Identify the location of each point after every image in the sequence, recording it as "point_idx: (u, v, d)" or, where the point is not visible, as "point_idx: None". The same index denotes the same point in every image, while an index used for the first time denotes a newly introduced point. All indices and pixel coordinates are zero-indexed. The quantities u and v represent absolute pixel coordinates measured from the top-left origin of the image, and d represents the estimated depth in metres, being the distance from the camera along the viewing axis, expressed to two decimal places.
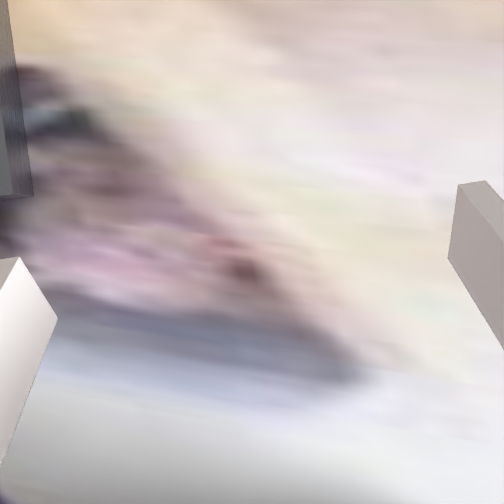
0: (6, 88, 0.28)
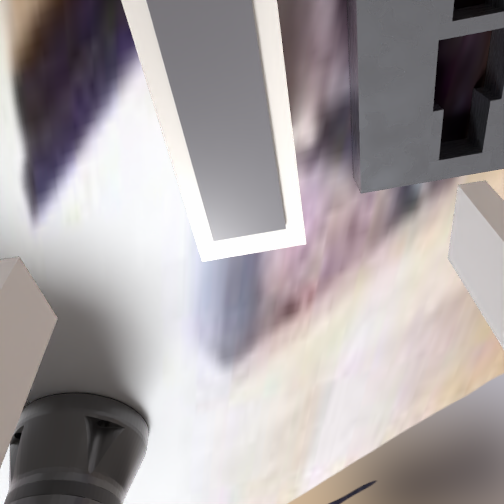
0: None
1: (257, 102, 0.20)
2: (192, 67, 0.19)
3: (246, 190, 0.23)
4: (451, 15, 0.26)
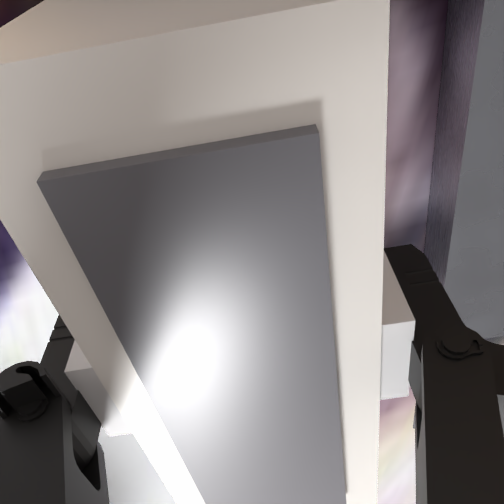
0: None
1: (315, 360, 0.09)
2: (169, 311, 0.08)
3: (279, 469, 0.12)
4: None
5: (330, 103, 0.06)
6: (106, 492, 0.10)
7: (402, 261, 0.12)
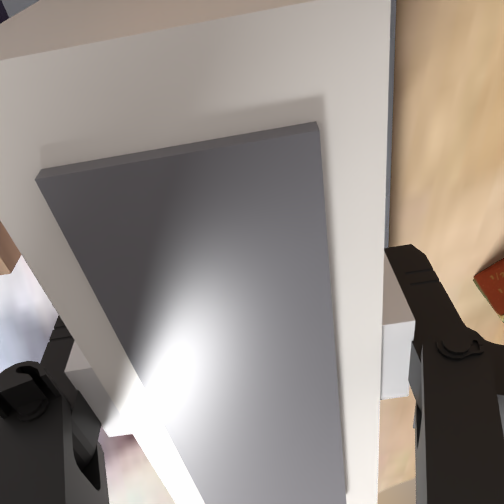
0: None
1: (315, 359, 0.09)
2: (168, 310, 0.08)
3: (279, 469, 0.12)
4: None
5: (331, 101, 0.06)
6: (106, 492, 0.10)
7: (402, 261, 0.12)
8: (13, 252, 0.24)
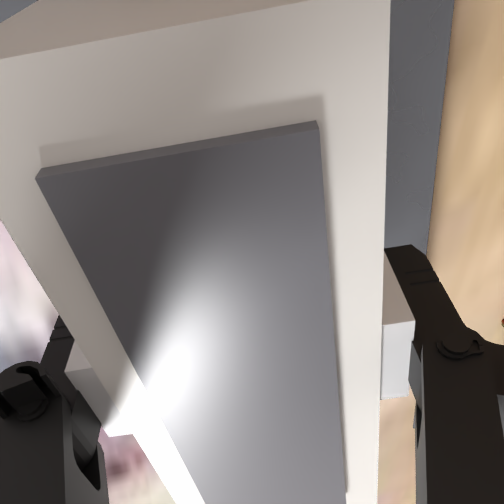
0: None
1: (315, 358, 0.09)
2: (168, 309, 0.08)
3: (279, 468, 0.12)
4: None
5: (330, 100, 0.06)
6: (106, 492, 0.10)
7: (402, 261, 0.12)
8: None
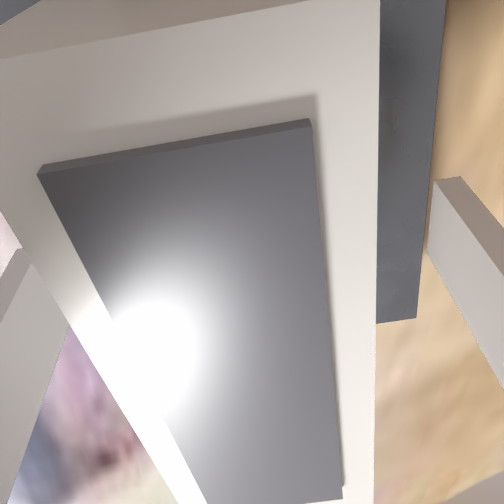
0: None
1: (310, 352, 0.09)
2: (167, 303, 0.08)
3: (276, 461, 0.12)
4: None
5: (324, 98, 0.06)
6: None
7: None
8: None
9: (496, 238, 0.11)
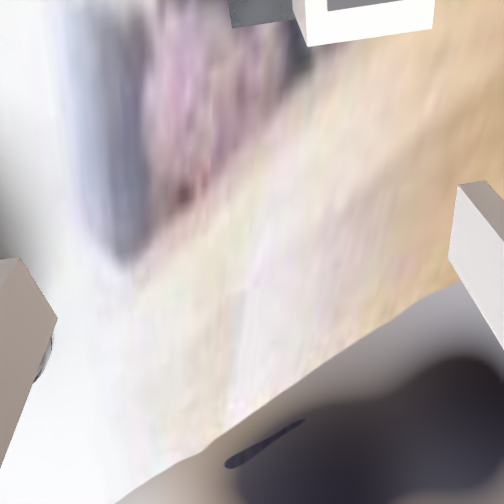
0: None
1: None
2: None
3: None
4: None
5: None
6: None
7: None
8: None
9: None
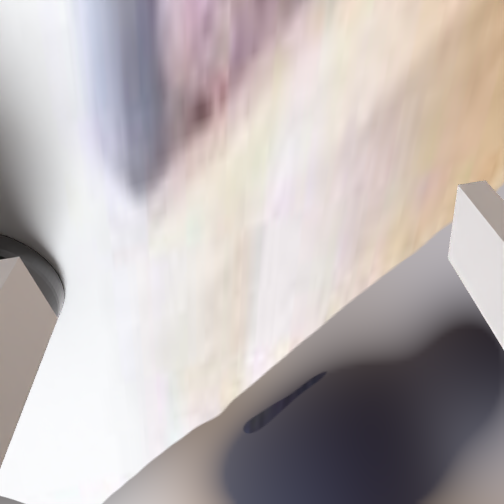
0: None
1: None
2: None
3: None
4: None
5: None
6: None
7: None
8: None
9: None
